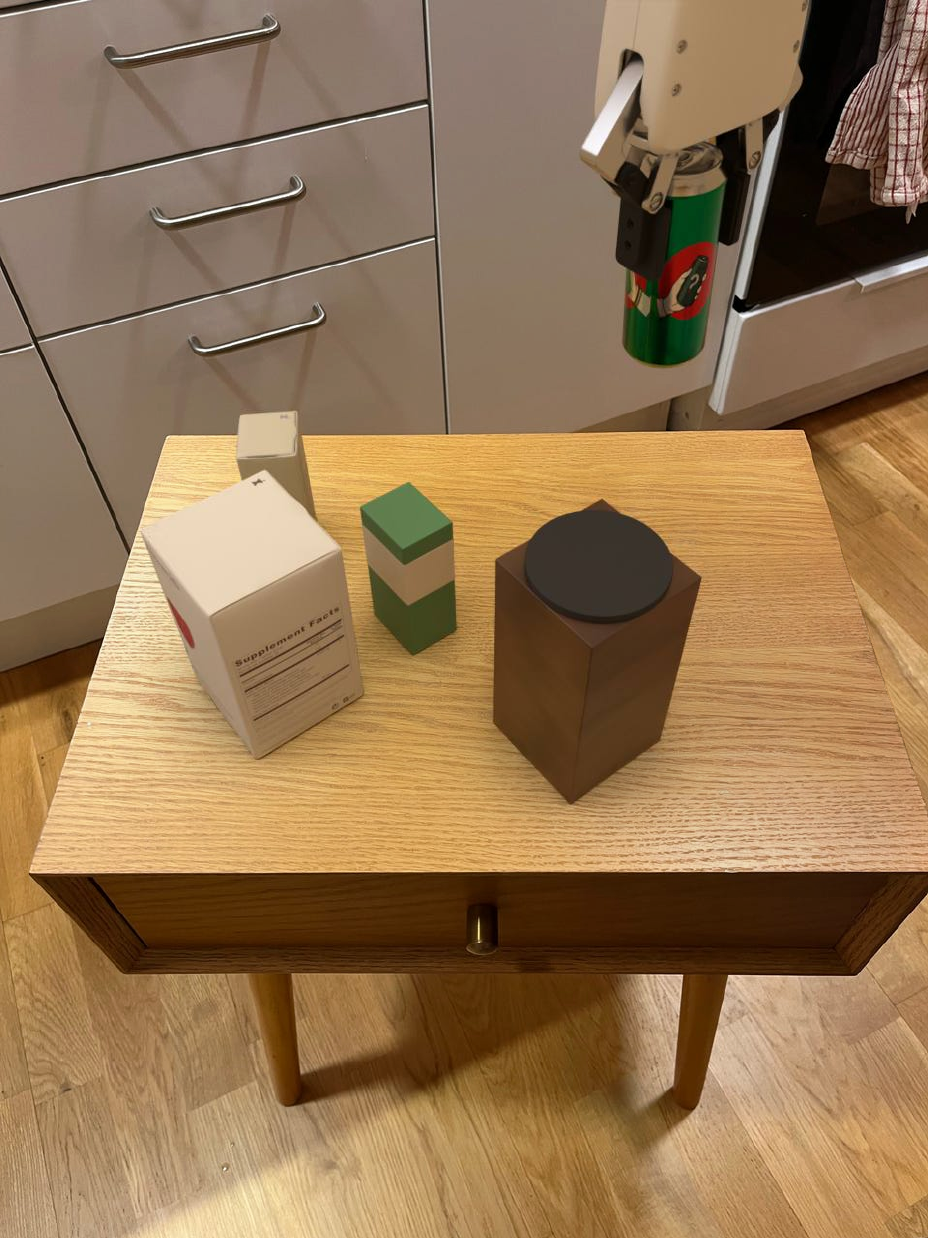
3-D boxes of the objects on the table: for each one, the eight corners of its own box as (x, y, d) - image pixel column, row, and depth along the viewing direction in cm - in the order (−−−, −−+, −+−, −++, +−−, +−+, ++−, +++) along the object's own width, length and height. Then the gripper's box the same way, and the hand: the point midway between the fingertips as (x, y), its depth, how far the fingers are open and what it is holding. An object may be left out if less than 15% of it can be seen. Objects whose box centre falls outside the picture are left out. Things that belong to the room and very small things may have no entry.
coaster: (702, 577, 52) (704, 569, 51) (592, 648, 49) (593, 640, 48) (602, 497, 56) (603, 490, 56) (494, 558, 53) (494, 551, 53)
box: (265, 520, 78) (239, 410, 70) (318, 517, 79) (298, 406, 70) (262, 567, 75) (234, 457, 67) (317, 563, 75) (296, 453, 67)
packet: (409, 480, 65) (358, 506, 63) (453, 521, 62) (402, 549, 61) (417, 589, 73) (373, 614, 72) (457, 630, 71) (412, 656, 69)
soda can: (716, 337, 60) (745, 143, 51) (683, 382, 58) (706, 186, 49) (643, 317, 62) (657, 127, 53) (607, 359, 60) (616, 167, 50)
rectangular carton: (191, 677, 68) (133, 525, 57) (300, 618, 72) (266, 463, 60) (255, 764, 63) (205, 617, 52) (368, 696, 67) (344, 544, 55)
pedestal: (660, 740, 64) (702, 577, 52) (570, 805, 61) (592, 648, 49) (580, 665, 68) (602, 497, 56) (492, 722, 65) (494, 558, 53)
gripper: (799, -192, 46) (731, 185, 60) (523, -129, 40) (518, 277, 53) (934, -168, 42) (828, 230, 56) (652, -94, 36) (610, 335, 49)
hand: (676, 249), depth 54 cm, fingers closed on soda can, 5 cm apart
